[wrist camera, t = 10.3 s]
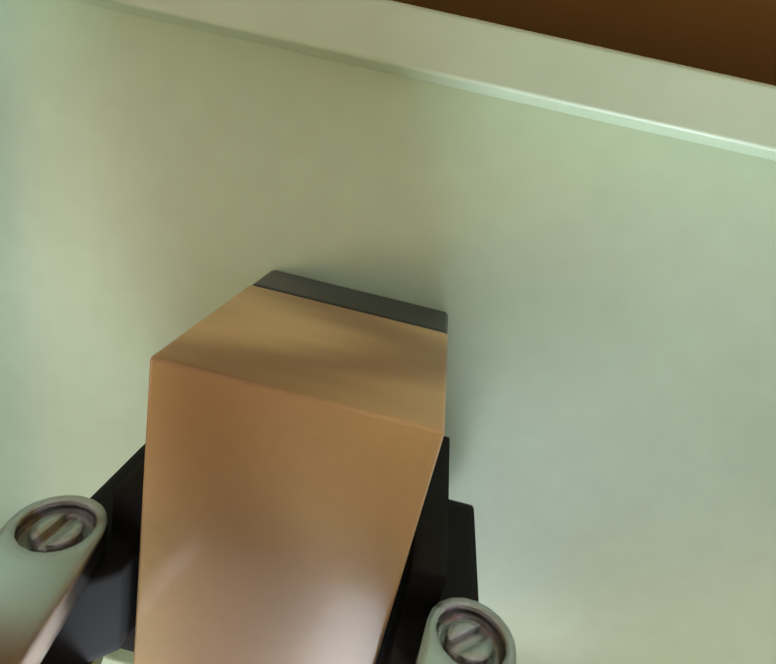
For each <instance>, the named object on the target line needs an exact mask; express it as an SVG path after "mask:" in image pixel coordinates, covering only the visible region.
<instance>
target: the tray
mask: <svg viewBox="0 0 776 664" xmlns="http://www.w3.org/2000/svg"><path fill="white" fill-rule="evenodd" d="M272 270H277V271H281V272H285V273H289V274H293V275H297V276H301V277H305V278H309V279H313V280H317V281H321V282H325V283H329V284H334V285H338V286H342V287H346V288H350V289H354V290H358V291H362V292H366V293H370V294H374V295H378V296H382V297H386V298H390V299H394V300H399V301H403V302H407V303H411V304H415V305H419V306H423V307H427V308H431V309H435V310H439V311H443V312H446V313H447V314H448V350H447V380H446V410H445V434H444V436H446V437H449V438H450V449H449V499H450V500H454V501H458V502H462V503H466V504H469V505H472V506H473V508H474V520H475V540H476V559H477V578H478V598H479V603H481V604H483V605H485V606H487V607H489V608H490V609H491V610H492V611H494V612H495V613H496V614H497V615H498V616H500V617H501V619H502V620H503V621H504V623H505V624H506V625H507V627H508V628H509V629H510V632H511V634H512V636H513V639H514V641H515V647H516V664H776V86H775V85H771V84H766V83H762V82H757V81H753V80H748V79H744V78H739V77H735V76H730V75H726V74H721V73H717V72H712V71H708V70H703V69H699V68H694V67H690V66H685V65H681V64H676V63H672V62H667V61H663V60H658V59H654V58H649V57H645V56H640V55H636V54H631V53H627V52H622V51H618V50H613V49H609V48H604V47H600V46H595V45H591V44H586V43H582V42H577V41H572V40H568V39H563V38H559V37H554V36H550V35H545V34H541V33H536V32H532V31H527V30H523V29H518V28H514V27H509V26H505V25H500V24H496V23H491V22H487V21H482V20H478V19H473V18H469V17H464V16H460V15H455V14H451V13H446V12H442V11H437V10H433V9H428V8H424V7H419V6H415V5H410V4H406V3H401V2H397V1H392V0H0V529H1V528H2V527H3V526H4V525H5V524H6V523H7V521H8V520H9V519H10V518H11V517H13V516H14V515H15V514H16V513H17V512H18V511H20V510H21V509H23V508H24V507H26V506H28V505H30V504H32V503H34V502H36V501H40V500H43V499H46V498H49V497H55V496H62V495H77V496H83V497H87V498H91V497H92V496H93V495H94V494H95V493H96V492H97V491H98V490H99V489H100V488H101V487H102V486H103V485H104V484H105V483H106V482H107V481H108V480H109V479H110V478H111V477H112V476H113V475H114V474H115V473H116V472H117V471H118V470H119V469H120V468H121V467H122V466H123V465H124V464H125V463H126V462H127V461H128V460H129V459H130V458H131V457H132V456H133V455H134V454H135V453H136V452H137V451H138V450H139V449H140V448H141V447H142V446H143V445H144V444H145V443H146V425H147V407H148V389H149V370H150V359H151V357H152V356H153V355H154V354H155V353H157V352H158V351H160V350H161V349H162V348H164V347H165V346H166V345H168V344H169V343H171V342H172V341H173V340H175V339H176V338H178V337H179V336H180V335H182V334H183V333H184V332H186V331H187V330H189V329H190V328H191V327H193V326H194V325H196V324H197V323H198V322H200V321H201V320H202V319H204V318H205V317H207V316H208V315H209V314H211V313H212V312H213V311H215V310H216V309H218V308H219V307H220V306H222V305H223V304H225V303H226V302H227V301H229V300H230V299H231V298H233V297H234V296H236V295H237V294H238V293H240V292H241V291H243V290H244V289H245V288H247V287H248V286H250V285H253V284H254V283H255V282H256V281H258V280H259V279H261V278H262V277H263V276H265V275H266V274H267V273H269V272H270V271H272ZM133 662H134V652H132V651H128V650H124V649H121V648H120V649H119V650H117V651H115V652H112V653H110V654H108V655H105V656H103V660H102V663H101V664H133Z"/></svg>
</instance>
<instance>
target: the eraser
mask: <svg viewBox="0 0 776 664" xmlns="http://www.w3.org/2000/svg"><path fill="white" fill-rule="evenodd" d="M447 350H448V314H447V313H446V312H443V311H439V310H435V309H431V308H427V307H423V306H419V305H415V304H411V303H407V302H403V301H399V300H394V299H390V298H386V297H382V296H378V295H374V294H370V293H366V292H362V291H358V290H354V289H350V288H346V287H342V286H338V285H334V284H329V283H325V282H321V281H317V280H313V279H309V278H305V277H301V276H297V275H293V274H289V273H285V272H281V271H277V270H272V271H270V272H269V273H267V274H266V275H265V276H263V277H262V278H261V279H259V280H258V281H256V282H255V283H254V284H253V285H250V286H248V287H247V288H245V289H244V290H243V291H241V292H240V293H238V294H237V295H236V296H234V297H233V298H231V299H230V300H229V301H227V302H226V303H225V304H223V305H222V306H220V307H219V308H218V309H216V310H215V311H213V312H212V313H211V314H209V315H208V316H207V317H205V318H204V319H202V320H201V321H200V322H198V323H197V324H196V325H194V326H193V327H191V328H190V329H189V330H187V331H186V332H184V333H183V334H182V335H180V336H179V337H178V338H176V339H175V340H173V341H172V342H171V343H169V344H168V345H166V346H165V347H164V348H162V349H161V350H160V351H158V352H157V353H155V354H154V355H153V356H152V357H151V359H150V370H149V389H148V407H147V425H146V443H145V461H144V480H143V498H142V516H141V534H140V553H139V571H138V589H137V607H136V625H135V644H134V662H133V664H375V663H376V660H377V657H378V653H379V650H380V647H381V644H382V640H383V637H384V634H385V630H386V627H387V624H388V620H389V617H390V614H391V610H392V607H393V604H394V600H395V597H396V594H397V590H398V587H399V584H400V580H401V577H402V574H403V570H404V567H405V564H406V560H407V557H408V554H409V550H410V547H411V544H412V540H413V537H414V534H415V530H416V527H417V524H418V521H419V517H420V514H421V511H422V507H423V504H424V501H425V497H426V494H427V491H428V487H429V484H430V481H431V477H432V474H433V471H434V467H435V464H436V461H437V457H438V454H439V451H440V447H441V444H442V441H443V437H444V434H445V410H446V380H447Z"/></svg>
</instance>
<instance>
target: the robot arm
mask: <svg viewBox="0 0 776 664" xmlns="http://www.w3.org/2000/svg"><path fill="white" fill-rule="evenodd" d="M449 449H450V438H449V437H446V436H444V437H443V441H442V444H441V447H440V451H439V454H438V457H437V461H436V464H435V467H434V471H433V474H432V477H431V481H430V484H429V487H428V491H427V494H426V497H425V501H424V504H423V507H422V511H421V514H420V517H419V521H418V524H417V527H416V530H415V534H414V537H413V540H412V544H411V547H410V550H409V554H408V557H407V560H406V564H405V567H404V570H403V574H402V577H401V580H400V584H399V587H398V590H397V594H396V597H395V600H394V604H393V607H392V610H391V614H390V617H389V620H388V624H387V627H386V630H385V634H384V637H383V640H382V644H381V647H380V650H379V653H378V657H377V660H376V663H375V664H516V647H515V641H514V639H513V636H512V634H511V632H510V629H509V628H508V627H507V625H506V624H505V623H504V621H503V620H502V619H501V617H500V616H498V615H497V614H496V613H495V612H494V611H492V610H491V609H490V608H489V607H487V606H485V605H483V604H481V603H479V598H478V578H477V559H476V540H475V520H474V508H473V506H472V505H469V504H466V503H462V502H458V501H454V500H450V499H449ZM144 461H145V444H144V445H143V446H142V447H141V448H140V449H139V450H138V451H137V452H136V453H135V454H134V455H133V456H132V457H131V458H130V459H129V460H128V461H127V462H126V463H125V464H124V465H123V466H122V467H121V468H120V469H119V470H118V471H117V472H116V473H115V474H114V475H113V476H112V477H111V478H110V479H109V480H108V481H107V482H106V483H105V484H104V485H103V486H102V487H101V488H100V489H99V490H98V491H97V492H96V493H95V494H94V495H93V496H92V497H91V498H87V497H83V496H77V495H62V496H55V497H49V498H46V499H43V500H40V501H36V502H34V503H32V504H30V505H28V506H26V507H24V508H23V509H21V510H20V511H18V512H17V513H16V514H15V515H14V516H13V517H11V518H10V519H9V520H8V521H7V523H6V524H5V525H4V526H3V527H2V528H1V529H0V664H101V663H102V660H103V656H105V655H108V654H110V653H112V652H115V651H117V650H119V649H120V648H121V649H124V650H128V651H132V652H134V644H135V625H136V607H137V589H138V571H139V553H140V534H141V516H142V498H143V480H144Z"/></svg>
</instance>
